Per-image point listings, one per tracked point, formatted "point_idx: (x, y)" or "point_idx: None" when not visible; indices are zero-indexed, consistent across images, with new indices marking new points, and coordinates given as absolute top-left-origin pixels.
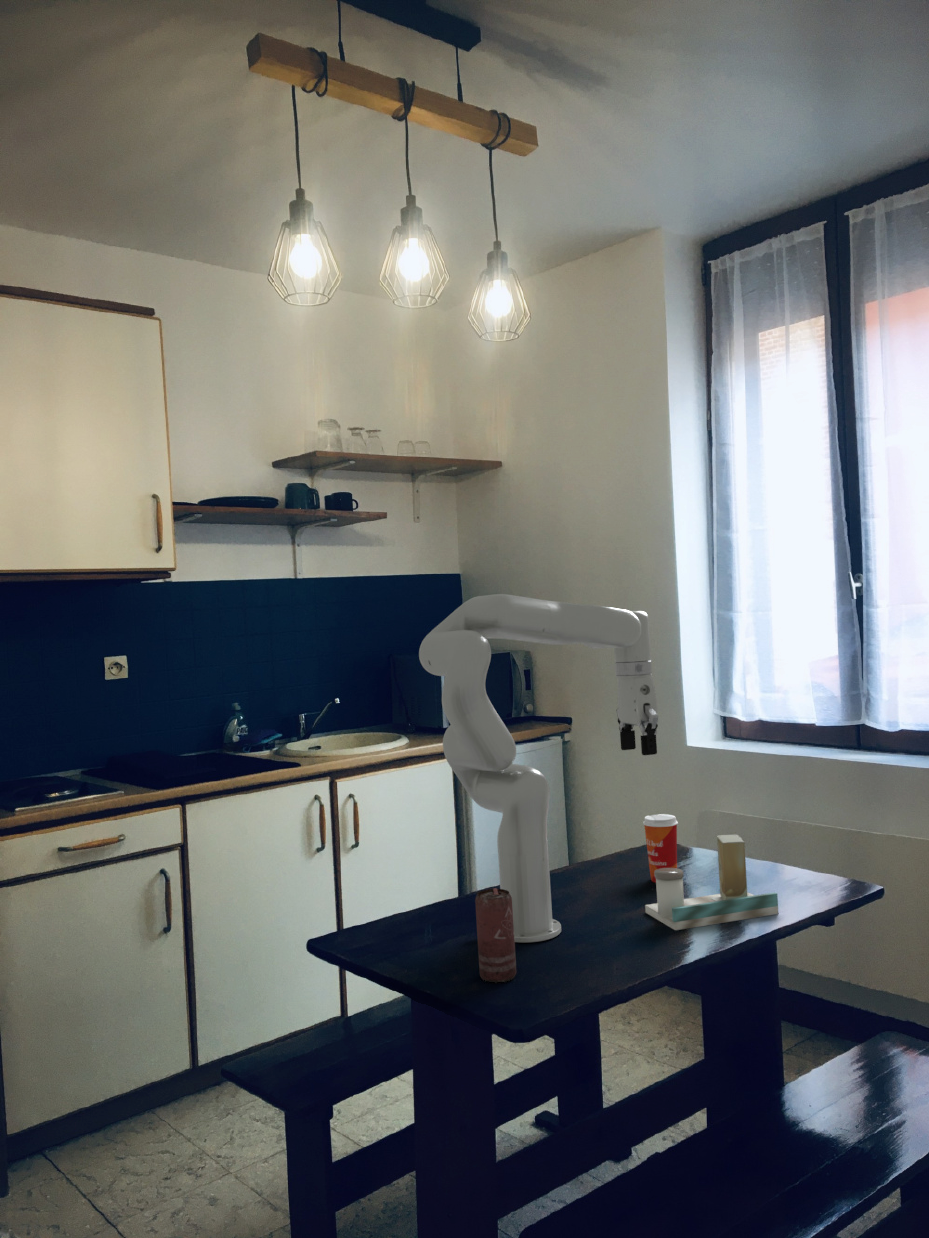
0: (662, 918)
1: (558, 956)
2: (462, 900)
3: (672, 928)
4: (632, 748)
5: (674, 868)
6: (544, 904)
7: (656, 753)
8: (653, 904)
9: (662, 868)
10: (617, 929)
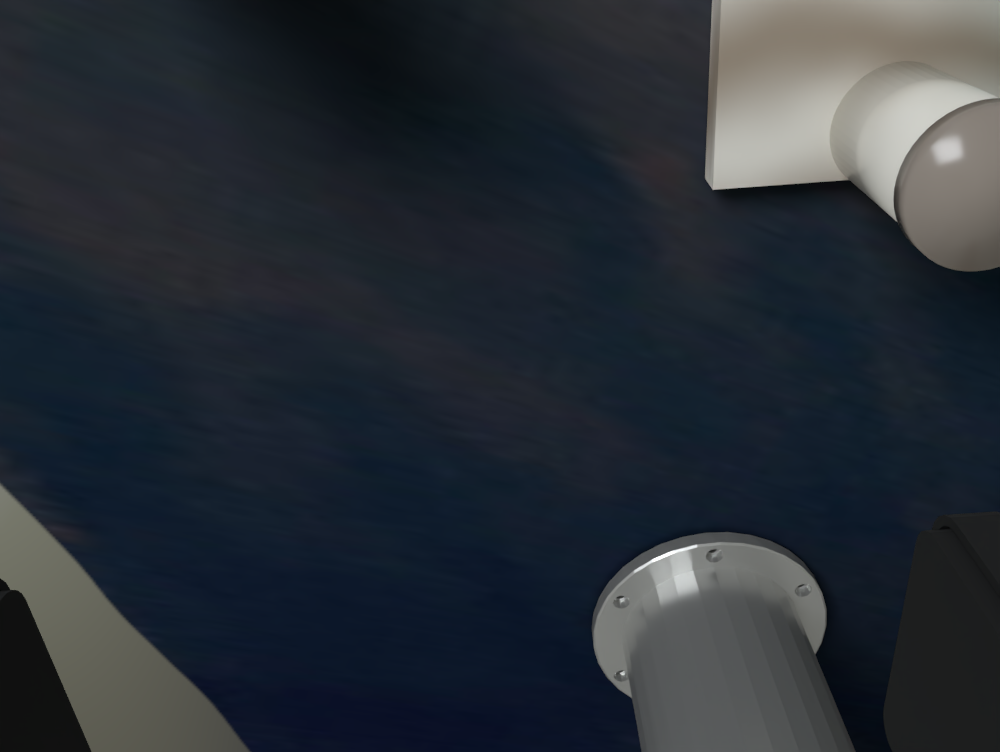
0: None
1: None
2: (252, 717)
3: None
4: (32, 637)
5: (958, 133)
6: (821, 671)
7: (996, 516)
8: (723, 149)
9: (913, 198)
10: (841, 359)
